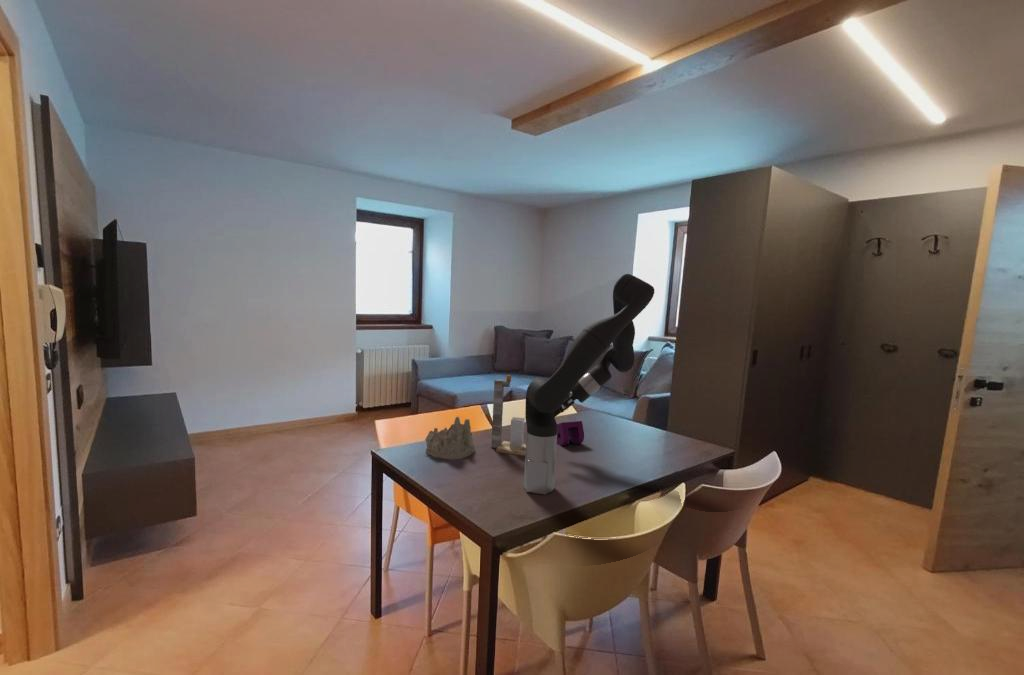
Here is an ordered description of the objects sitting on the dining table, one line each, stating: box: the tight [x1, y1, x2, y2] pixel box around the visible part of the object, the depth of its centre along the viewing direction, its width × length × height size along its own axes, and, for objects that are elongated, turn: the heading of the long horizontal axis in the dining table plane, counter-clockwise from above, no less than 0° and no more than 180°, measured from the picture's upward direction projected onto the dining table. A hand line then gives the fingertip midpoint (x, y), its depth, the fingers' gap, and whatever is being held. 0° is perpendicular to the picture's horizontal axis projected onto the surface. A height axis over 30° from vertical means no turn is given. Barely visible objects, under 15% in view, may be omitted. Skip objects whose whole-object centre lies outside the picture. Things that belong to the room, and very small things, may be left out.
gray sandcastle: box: [425, 416, 476, 461], centre depth 161 cm, size 16×16×15 cm
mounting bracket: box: [556, 420, 585, 446], centre depth 182 cm, size 10×8×18 cm
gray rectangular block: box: [509, 416, 526, 450], centre depth 167 cm, size 4×4×11 cm
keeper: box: [490, 374, 526, 457], centre depth 167 cm, size 11×14×28 cm
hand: (551, 414), depth 162 cm, fingers open, 8 cm apart
